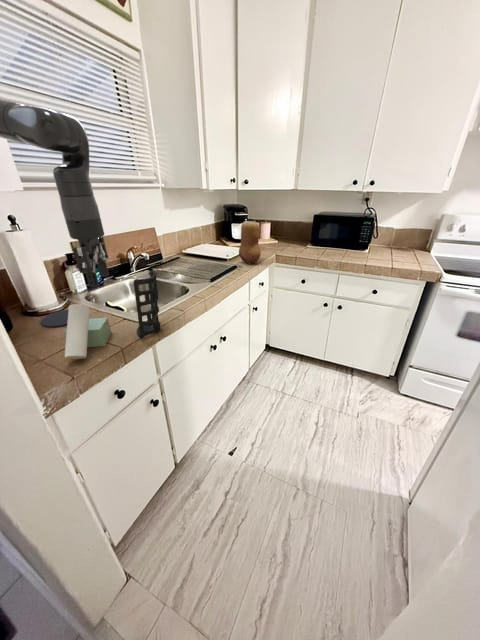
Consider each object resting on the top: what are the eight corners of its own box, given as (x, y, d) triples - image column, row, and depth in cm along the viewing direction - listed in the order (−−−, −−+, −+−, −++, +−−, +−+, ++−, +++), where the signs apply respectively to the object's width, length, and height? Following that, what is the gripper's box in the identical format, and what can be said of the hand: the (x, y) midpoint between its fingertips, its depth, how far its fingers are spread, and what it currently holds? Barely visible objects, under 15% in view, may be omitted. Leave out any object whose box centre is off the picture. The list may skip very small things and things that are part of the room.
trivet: (33, 329, 91) (32, 327, 90) (52, 311, 103) (52, 310, 103) (76, 326, 92) (75, 324, 92) (90, 309, 105) (89, 307, 104)
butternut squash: (264, 262, 165) (266, 221, 153) (251, 267, 156) (252, 223, 144) (247, 259, 173) (248, 219, 161) (234, 263, 164) (233, 221, 152)
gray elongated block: (64, 367, 72) (46, 322, 65) (84, 340, 84) (70, 299, 77) (84, 365, 72) (69, 320, 66) (101, 338, 85) (89, 298, 78)
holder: (141, 321, 94) (137, 268, 85) (163, 322, 95) (160, 270, 86) (133, 338, 85) (127, 280, 75) (157, 339, 86) (153, 282, 76)
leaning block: (70, 348, 80) (64, 332, 77) (80, 335, 87) (74, 319, 84) (104, 346, 81) (99, 329, 78) (111, 333, 88) (107, 317, 85)
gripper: (77, 213, 68) (94, 273, 75) (51, 220, 55) (74, 292, 63) (108, 213, 69) (121, 272, 76) (88, 220, 56) (106, 290, 64)
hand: (99, 281), depth 70 cm, fingers open, 8 cm apart
